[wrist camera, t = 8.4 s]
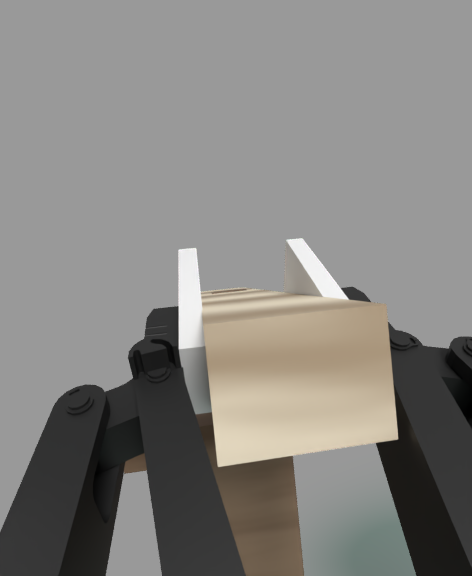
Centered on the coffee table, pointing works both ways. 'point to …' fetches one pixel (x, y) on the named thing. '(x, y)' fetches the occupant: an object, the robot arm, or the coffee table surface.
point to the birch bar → (296, 373)
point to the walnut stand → (255, 508)
